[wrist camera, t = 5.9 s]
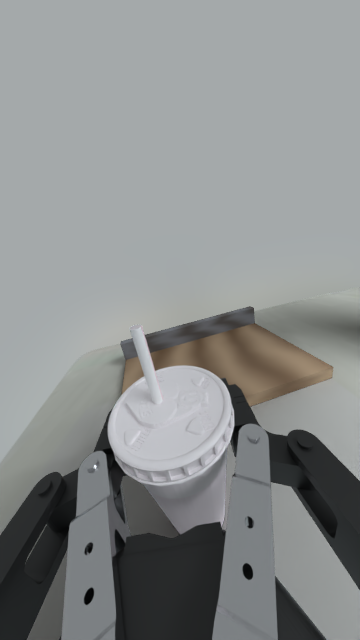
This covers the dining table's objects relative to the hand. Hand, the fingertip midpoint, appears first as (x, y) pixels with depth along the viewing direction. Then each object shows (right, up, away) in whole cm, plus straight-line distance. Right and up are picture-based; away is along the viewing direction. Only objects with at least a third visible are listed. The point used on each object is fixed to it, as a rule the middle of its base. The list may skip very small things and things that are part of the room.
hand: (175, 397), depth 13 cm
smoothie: (+2, -8, 0) cm, 8 cm away
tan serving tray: (+4, -2, +14) cm, 15 cm away
